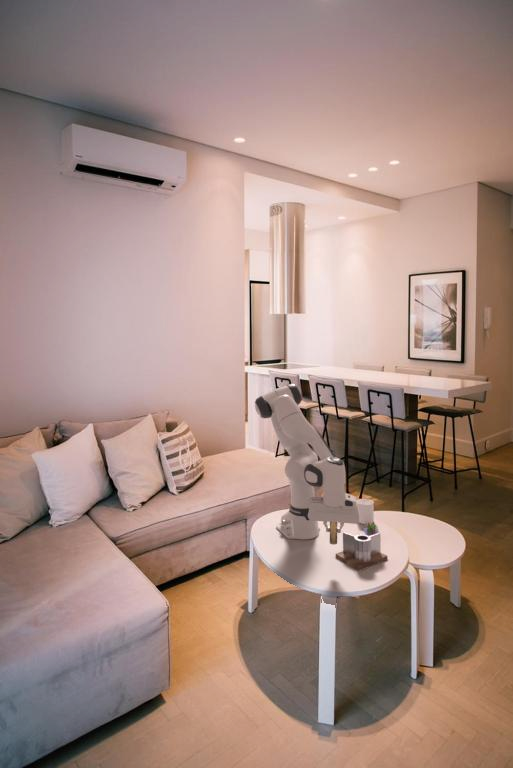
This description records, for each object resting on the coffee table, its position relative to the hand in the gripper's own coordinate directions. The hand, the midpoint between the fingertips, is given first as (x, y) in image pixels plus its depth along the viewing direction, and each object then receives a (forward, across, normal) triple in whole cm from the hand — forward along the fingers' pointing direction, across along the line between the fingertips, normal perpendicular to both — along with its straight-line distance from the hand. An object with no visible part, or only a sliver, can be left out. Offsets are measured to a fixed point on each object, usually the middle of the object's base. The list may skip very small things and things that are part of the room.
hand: (333, 531), depth 186 cm
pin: (+5, 0, 0) cm, 5 cm away
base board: (+15, +11, +10) cm, 21 cm away
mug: (+16, +13, +52) cm, 55 cm away
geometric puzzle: (+15, +16, +31) cm, 38 cm away
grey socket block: (+13, +12, +11) cm, 21 cm away
